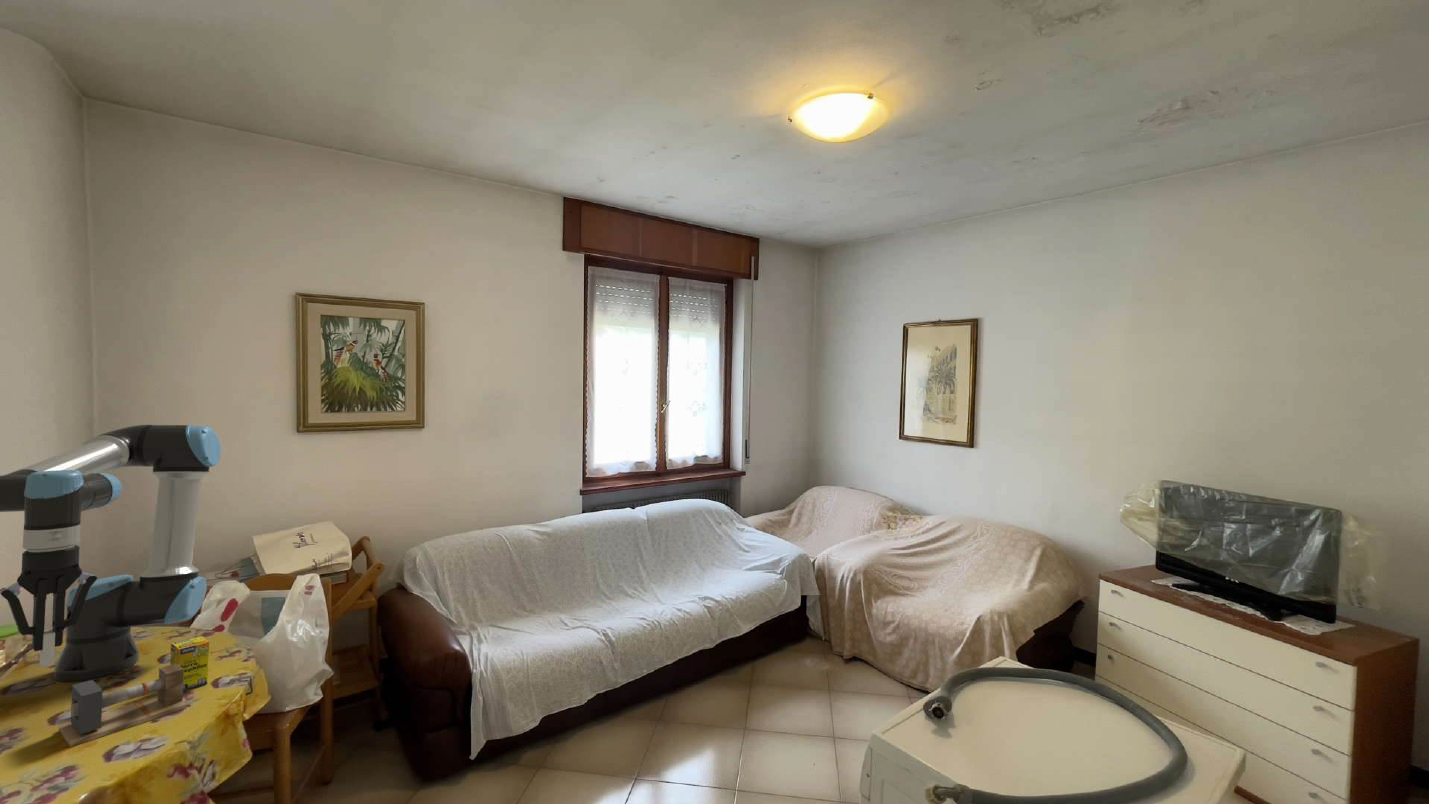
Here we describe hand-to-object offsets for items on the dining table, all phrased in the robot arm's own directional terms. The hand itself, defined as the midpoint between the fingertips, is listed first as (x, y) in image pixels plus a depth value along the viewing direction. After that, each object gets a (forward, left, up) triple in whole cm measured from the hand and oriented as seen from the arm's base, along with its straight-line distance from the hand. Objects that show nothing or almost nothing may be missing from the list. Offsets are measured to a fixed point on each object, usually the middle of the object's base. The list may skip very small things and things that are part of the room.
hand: (46, 664), depth 113 cm
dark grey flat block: (-4, +7, -17) cm, 18 cm away
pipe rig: (-4, +13, -18) cm, 22 cm away
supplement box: (-12, +26, -18) cm, 34 cm away
